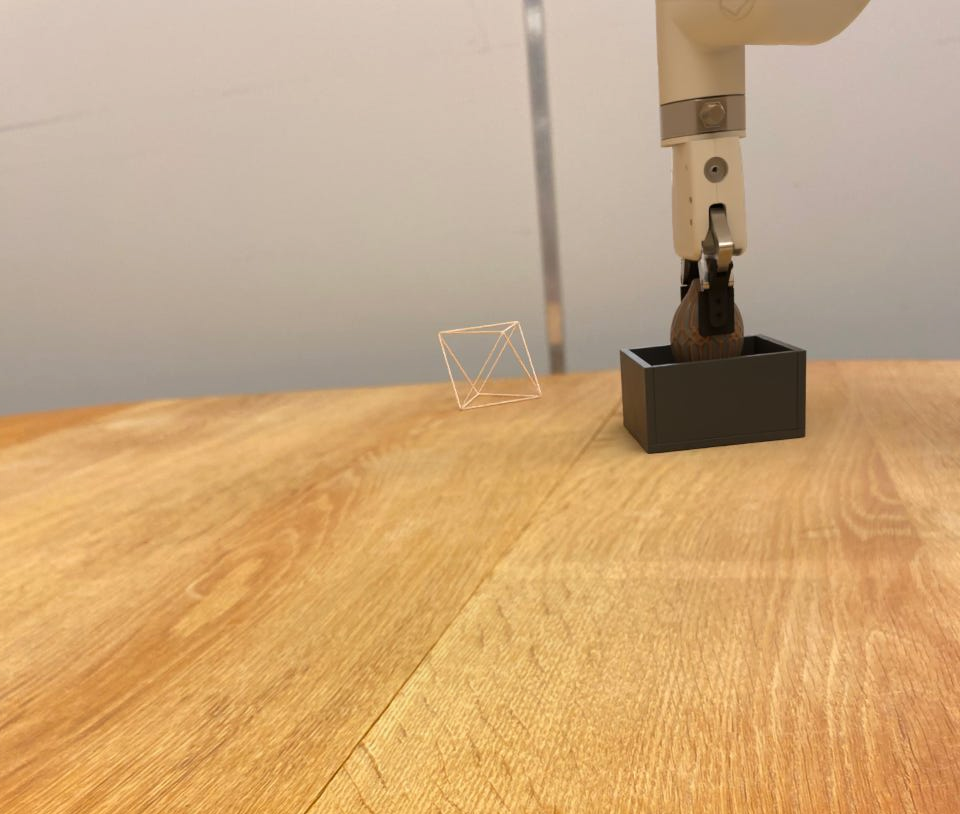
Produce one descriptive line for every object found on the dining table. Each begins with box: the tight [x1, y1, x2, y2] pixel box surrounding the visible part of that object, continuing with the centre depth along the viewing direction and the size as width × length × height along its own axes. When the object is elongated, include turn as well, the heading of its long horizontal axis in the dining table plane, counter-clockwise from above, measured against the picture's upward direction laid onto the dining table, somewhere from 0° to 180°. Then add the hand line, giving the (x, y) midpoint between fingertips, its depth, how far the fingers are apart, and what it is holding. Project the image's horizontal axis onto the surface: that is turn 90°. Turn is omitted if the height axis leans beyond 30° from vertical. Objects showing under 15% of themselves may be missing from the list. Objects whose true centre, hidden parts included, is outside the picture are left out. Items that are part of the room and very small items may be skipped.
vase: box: [669, 278, 745, 363], centre depth 101 cm, size 7×7×9 cm
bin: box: [619, 333, 807, 454], centre depth 103 cm, size 15×15×8 cm
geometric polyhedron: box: [437, 320, 543, 411], centre depth 133 cm, size 12×11×9 cm
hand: (707, 329), depth 101 cm, fingers closed on vase, 6 cm apart
